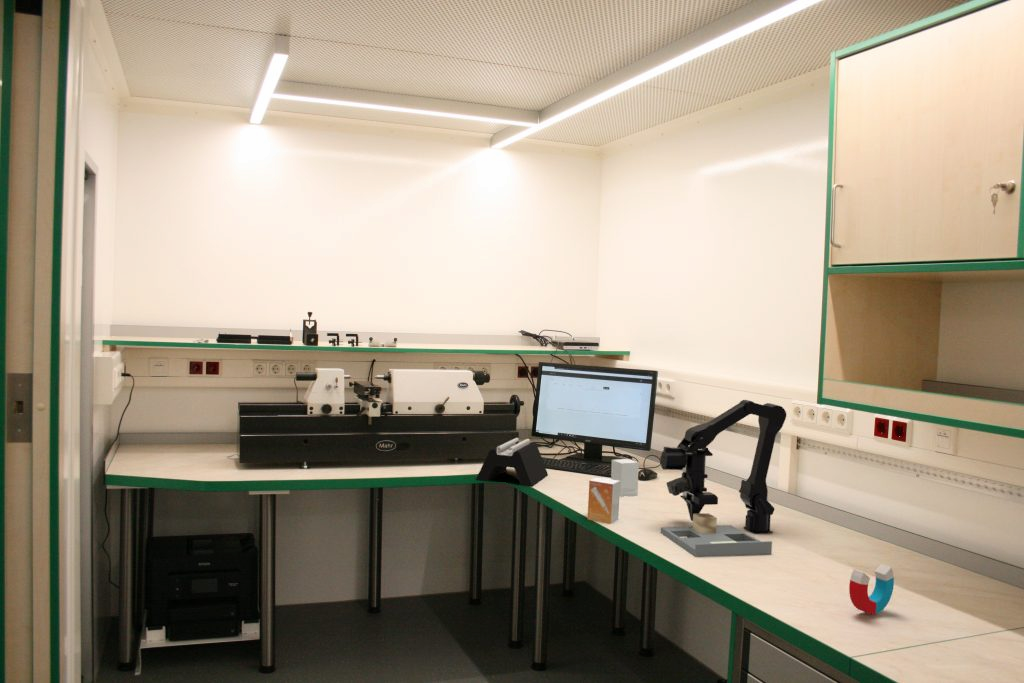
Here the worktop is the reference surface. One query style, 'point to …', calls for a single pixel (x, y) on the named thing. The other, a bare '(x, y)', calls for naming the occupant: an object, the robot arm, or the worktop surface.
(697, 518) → the maple block
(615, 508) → the small box
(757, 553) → the board
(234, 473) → the worktop surface
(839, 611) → the worktop surface
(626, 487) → the supplement box
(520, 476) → the device stand
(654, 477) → the worktop surface
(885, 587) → the magnet
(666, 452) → the robot arm
